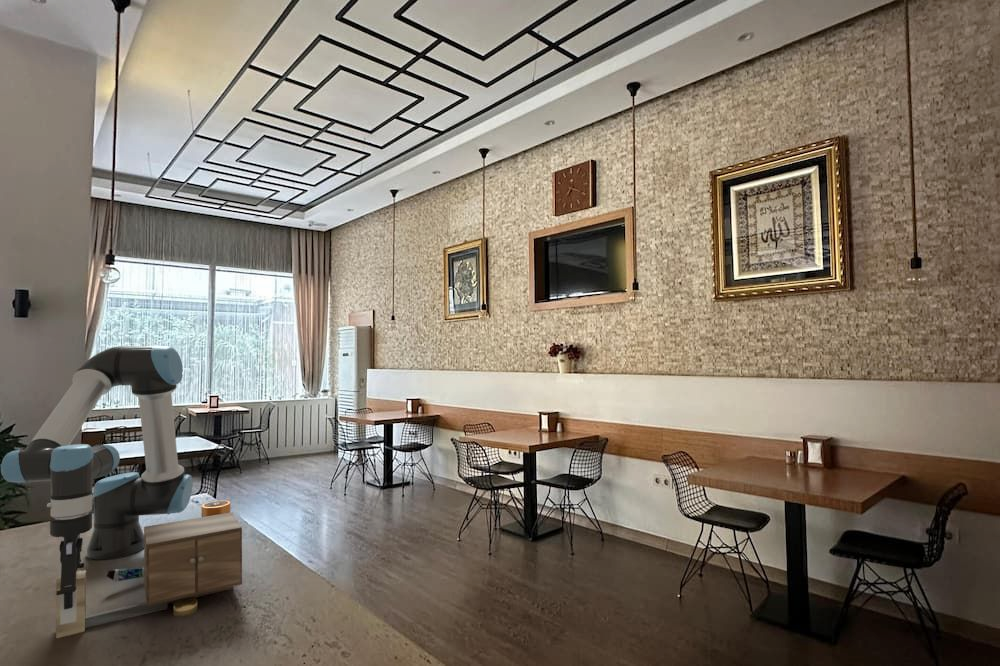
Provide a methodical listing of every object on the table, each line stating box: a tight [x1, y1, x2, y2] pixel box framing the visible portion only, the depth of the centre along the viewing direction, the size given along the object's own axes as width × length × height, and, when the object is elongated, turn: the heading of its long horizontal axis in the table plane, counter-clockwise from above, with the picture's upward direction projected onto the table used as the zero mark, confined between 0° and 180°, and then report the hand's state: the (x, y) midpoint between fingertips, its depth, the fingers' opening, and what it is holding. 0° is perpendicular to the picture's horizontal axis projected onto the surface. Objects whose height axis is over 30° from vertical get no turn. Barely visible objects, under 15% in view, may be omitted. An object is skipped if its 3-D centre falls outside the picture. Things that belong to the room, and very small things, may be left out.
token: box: [172, 597, 198, 618], centre depth 133 cm, size 5×5×2 cm
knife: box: [106, 566, 144, 582], centre depth 155 cm, size 30×3×4 cm, turn 134°
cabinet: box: [143, 511, 243, 606], centre depth 138 cm, size 16×20×18 cm
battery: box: [201, 500, 231, 517], centre depth 154 cm, size 7×7×20 cm
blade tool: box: [55, 569, 168, 639], centre depth 130 cm, size 5×21×12 cm, turn 124°
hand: (70, 610), depth 125 cm, fingers open, 13 cm apart
